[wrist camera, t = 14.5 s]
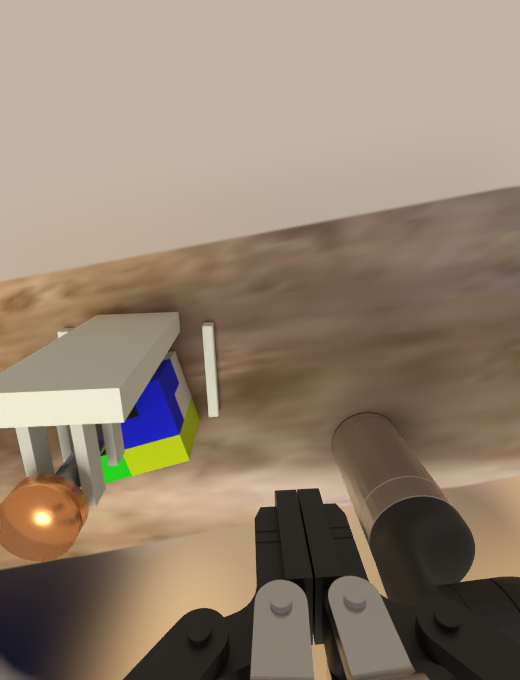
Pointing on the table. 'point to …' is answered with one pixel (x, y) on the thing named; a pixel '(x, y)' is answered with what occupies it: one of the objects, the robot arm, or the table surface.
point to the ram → (45, 512)
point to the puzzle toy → (157, 425)
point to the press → (91, 389)
